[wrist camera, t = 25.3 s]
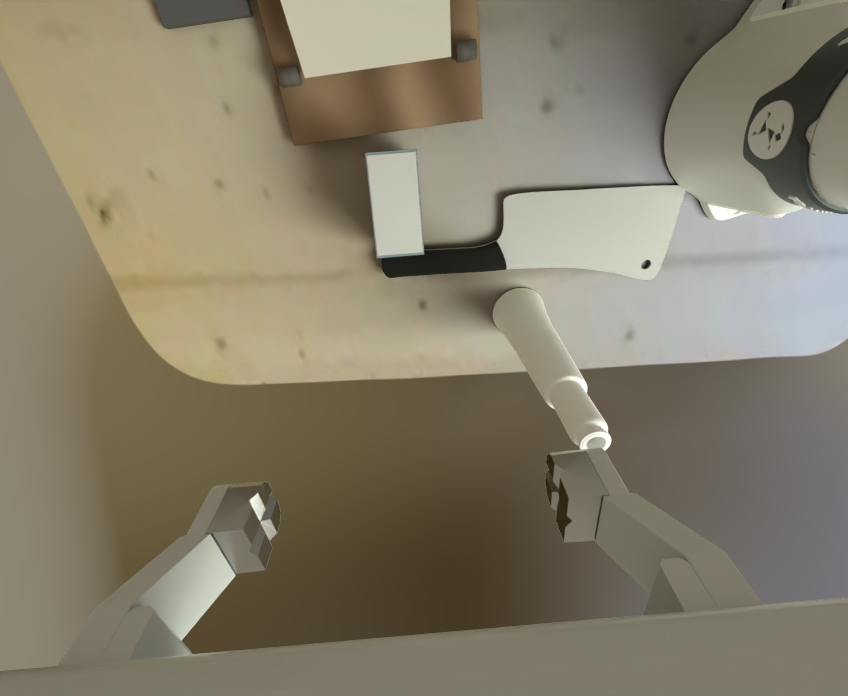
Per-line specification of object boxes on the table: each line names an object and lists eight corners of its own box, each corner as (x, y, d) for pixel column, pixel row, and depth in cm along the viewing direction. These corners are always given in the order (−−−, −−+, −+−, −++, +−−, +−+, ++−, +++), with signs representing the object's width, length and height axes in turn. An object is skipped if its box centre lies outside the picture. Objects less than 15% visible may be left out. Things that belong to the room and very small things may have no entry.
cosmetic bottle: (543, 329, 49) (634, 468, 30) (493, 337, 49) (552, 479, 30) (543, 283, 46) (644, 404, 27) (490, 291, 46) (553, 417, 27)
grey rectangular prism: (416, 148, 31) (424, 254, 34) (415, 161, 39) (421, 246, 41) (364, 152, 31) (376, 258, 34) (373, 164, 39) (382, 249, 41)
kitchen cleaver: (692, 186, 40) (663, 281, 45) (681, 183, 41) (654, 276, 46) (377, 192, 38) (383, 291, 43) (377, 189, 39) (383, 286, 44)
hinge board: (467, -136, 29) (473, -158, 27) (479, 118, 37) (485, 118, 35) (236, -99, 29) (221, -118, 27) (298, 144, 37) (291, 146, 35)
